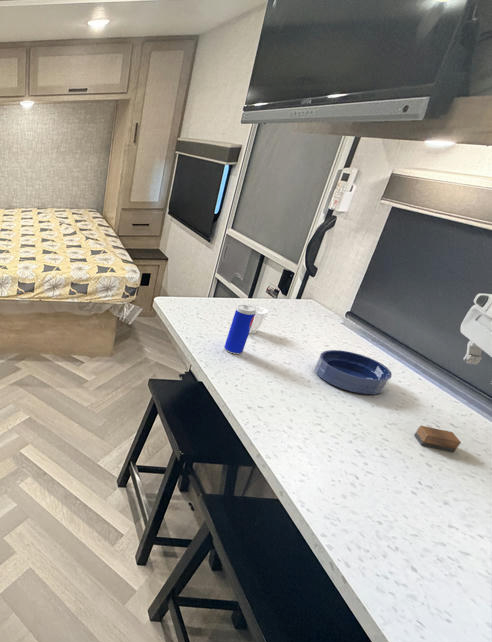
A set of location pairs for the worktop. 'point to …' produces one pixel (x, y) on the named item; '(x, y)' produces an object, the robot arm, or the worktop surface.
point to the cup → (258, 318)
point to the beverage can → (240, 329)
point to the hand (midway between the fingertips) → (483, 374)
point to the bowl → (352, 372)
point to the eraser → (437, 438)
